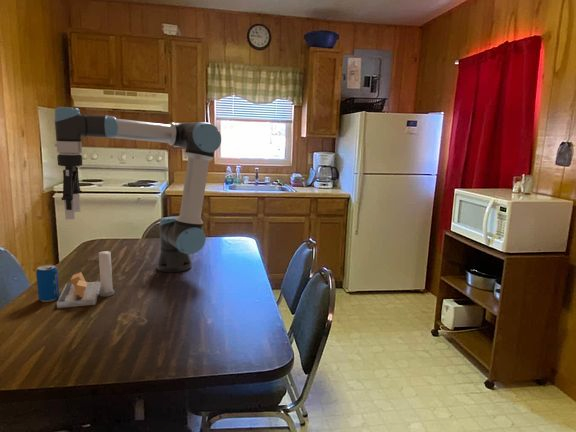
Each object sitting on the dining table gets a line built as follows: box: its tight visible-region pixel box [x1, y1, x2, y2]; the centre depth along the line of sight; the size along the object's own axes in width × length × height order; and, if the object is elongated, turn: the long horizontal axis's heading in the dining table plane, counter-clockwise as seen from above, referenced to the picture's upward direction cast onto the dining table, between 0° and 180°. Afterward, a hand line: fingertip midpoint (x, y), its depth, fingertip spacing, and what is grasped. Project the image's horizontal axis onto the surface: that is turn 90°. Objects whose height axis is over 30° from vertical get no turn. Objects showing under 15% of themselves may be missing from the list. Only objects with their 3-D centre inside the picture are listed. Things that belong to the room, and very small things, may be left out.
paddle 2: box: [73, 280, 89, 298], centre depth 147 cm, size 3×6×5 cm, turn 19°
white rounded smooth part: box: [98, 250, 116, 298], centre depth 153 cm, size 5×5×16 cm
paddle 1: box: [70, 271, 87, 289], centre depth 155 cm, size 3×6×5 cm, turn 18°
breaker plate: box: [56, 281, 101, 309], centre depth 152 cm, size 12×18×2 cm, turn 19°
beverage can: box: [35, 264, 60, 303], centre depth 147 cm, size 6×6×12 cm
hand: (73, 215), depth 146 cm, fingers open, 13 cm apart
